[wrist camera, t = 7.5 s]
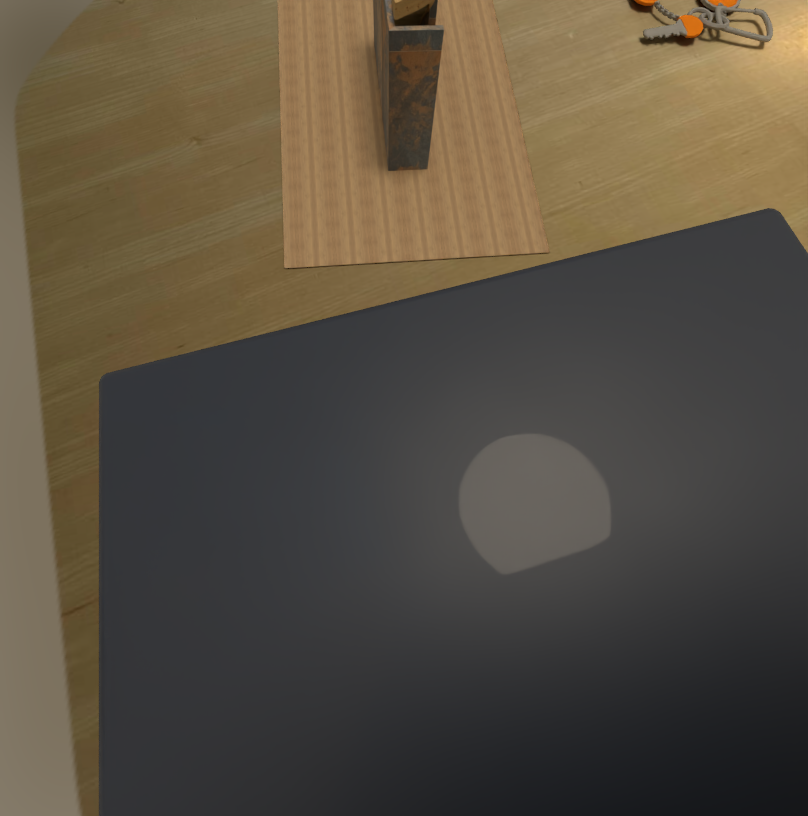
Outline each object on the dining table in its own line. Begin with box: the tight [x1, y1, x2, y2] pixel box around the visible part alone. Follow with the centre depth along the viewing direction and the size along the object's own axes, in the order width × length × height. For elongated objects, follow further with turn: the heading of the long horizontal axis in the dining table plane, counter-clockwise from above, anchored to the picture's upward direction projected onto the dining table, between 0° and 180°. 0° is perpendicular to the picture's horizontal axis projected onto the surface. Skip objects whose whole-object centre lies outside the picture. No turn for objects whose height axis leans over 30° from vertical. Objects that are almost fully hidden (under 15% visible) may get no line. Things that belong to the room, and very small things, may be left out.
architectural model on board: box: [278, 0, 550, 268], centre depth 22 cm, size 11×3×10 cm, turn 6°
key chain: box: [634, 0, 773, 42], centre depth 30 cm, size 13×7×1 cm, turn 85°
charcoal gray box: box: [99, 208, 808, 816], centre depth 9 cm, size 10×6×14 cm, turn 13°
